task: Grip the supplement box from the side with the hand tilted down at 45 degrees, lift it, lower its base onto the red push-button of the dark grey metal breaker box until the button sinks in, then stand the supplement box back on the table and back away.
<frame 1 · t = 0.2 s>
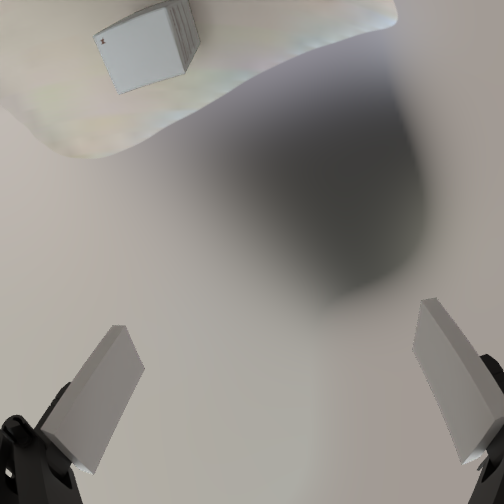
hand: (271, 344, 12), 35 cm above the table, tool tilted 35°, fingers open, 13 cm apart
supplement box: (167, 26, 28), on the table
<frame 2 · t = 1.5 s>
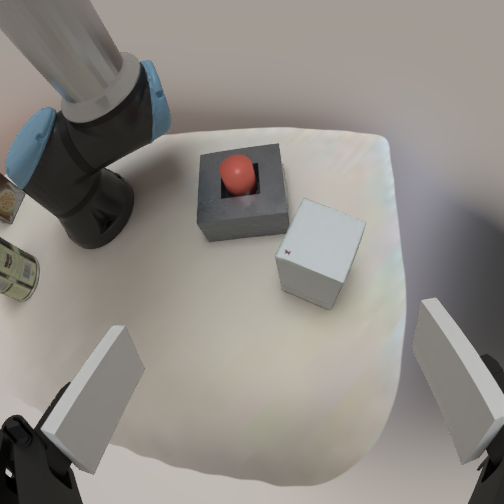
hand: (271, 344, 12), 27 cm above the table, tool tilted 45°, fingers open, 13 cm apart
breaker box: (247, 202, 46), on the table
coffee can: (26, 279, 49), on the table
supplement box: (316, 277, 40), on the table
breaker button: (239, 178, 40), point 6 cm above the table, slide at 0.0 cm
coffee box: (14, 209, 59), on the table
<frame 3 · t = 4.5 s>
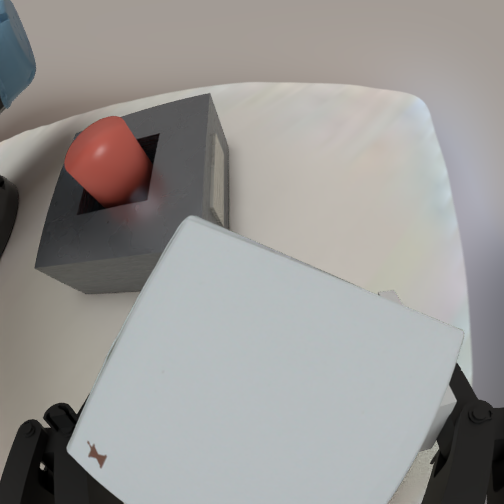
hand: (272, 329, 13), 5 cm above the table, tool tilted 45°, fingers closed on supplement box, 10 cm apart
breaker box: (155, 216, 23), on the table
supplement box: (283, 390, 17), on the table, touching gripper
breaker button: (113, 167, 17), point 7 cm above the table, slide at 0.0 cm
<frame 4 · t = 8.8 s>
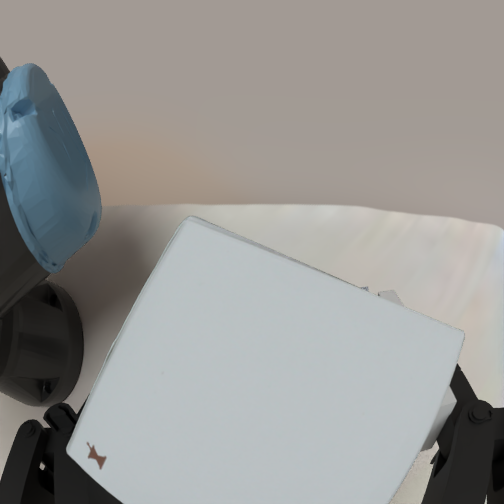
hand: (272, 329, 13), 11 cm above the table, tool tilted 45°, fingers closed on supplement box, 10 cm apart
supplement box: (283, 390, 17), point 6 cm above the table, touching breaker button, gripper
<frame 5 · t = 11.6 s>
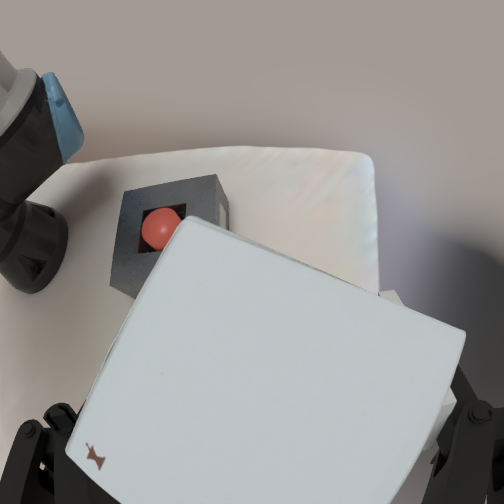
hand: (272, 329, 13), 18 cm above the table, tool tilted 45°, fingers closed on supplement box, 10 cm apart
breaker box: (181, 249, 36), on the table
supplement box: (283, 390, 16), point 13 cm above the table, touching gripper
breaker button: (168, 235, 33), point 4 cm above the table, slide at 2.4 cm
when the fingers open (6 cm above the table, at t = 14.2 s): supplement box drops 2 cm, on the table.
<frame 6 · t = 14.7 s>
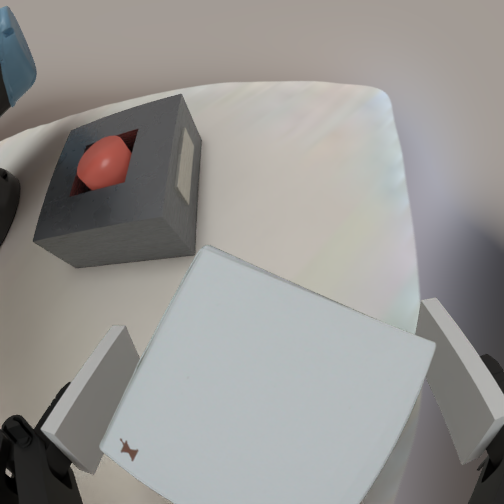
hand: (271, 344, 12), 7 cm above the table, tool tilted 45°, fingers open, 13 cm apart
breaker box: (136, 200, 26), on the table
supplement box: (284, 390, 18), on the table
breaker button: (114, 175, 22), point 4 cm above the table, slide at 2.4 cm
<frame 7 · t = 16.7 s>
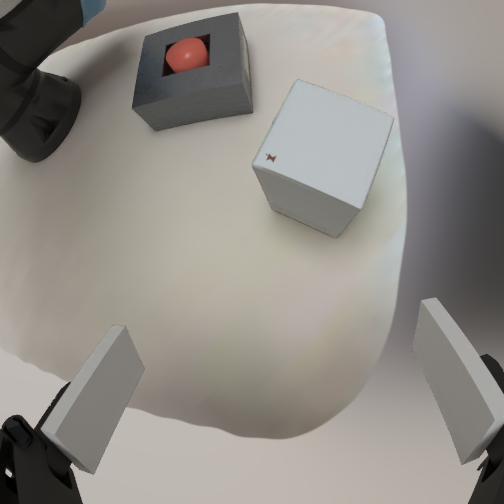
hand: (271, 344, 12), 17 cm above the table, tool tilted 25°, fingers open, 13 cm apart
breaker box: (202, 82, 33), on the table
supplement box: (318, 192, 29), on the table
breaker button: (191, 63, 29), point 4 cm above the table, slide at 2.4 cm
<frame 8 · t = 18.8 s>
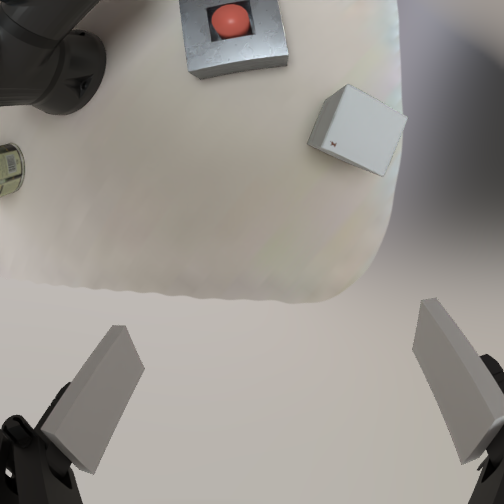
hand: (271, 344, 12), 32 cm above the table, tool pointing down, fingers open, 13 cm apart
breaker box: (236, 34, 33), on the table
coffee can: (11, 168, 43), on the table
supplement box: (340, 131, 37), on the table
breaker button: (232, 25, 29), point 4 cm above the table, slide at 2.4 cm
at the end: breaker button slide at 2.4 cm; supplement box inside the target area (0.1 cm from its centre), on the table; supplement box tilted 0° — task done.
